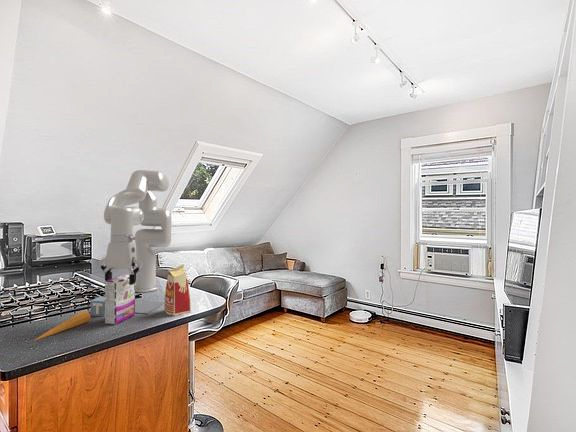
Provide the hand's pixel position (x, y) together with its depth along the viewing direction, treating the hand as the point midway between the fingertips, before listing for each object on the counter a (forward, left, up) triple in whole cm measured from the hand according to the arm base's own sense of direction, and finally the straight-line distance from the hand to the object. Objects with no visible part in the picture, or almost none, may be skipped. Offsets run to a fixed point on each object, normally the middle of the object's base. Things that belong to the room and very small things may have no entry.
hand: (120, 283), depth 124 cm
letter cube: (-6, -11, -14) cm, 19 cm away
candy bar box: (-1, 0, -15) cm, 14 cm away
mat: (-16, +2, -14) cm, 21 cm away
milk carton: (-14, +17, -15) cm, 26 cm away
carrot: (+13, -13, -15) cm, 23 cm away
